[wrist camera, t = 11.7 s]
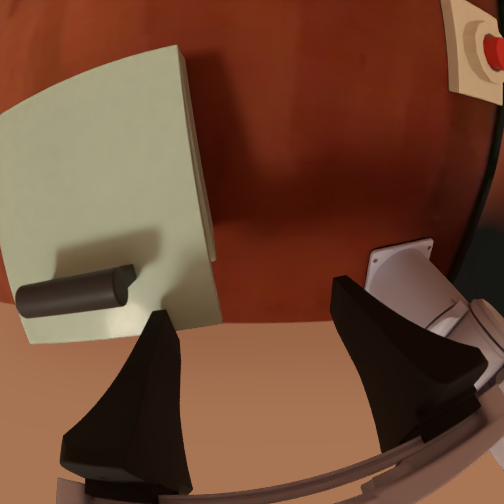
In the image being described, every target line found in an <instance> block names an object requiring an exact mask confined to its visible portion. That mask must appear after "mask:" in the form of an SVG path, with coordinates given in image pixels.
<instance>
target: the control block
mask: <svg viewBox="0 0 504 504" xmlns="http://www.w3.org/2000/svg"><path fill="white" fill-rule="evenodd" d="M440 2H441V7H442V13H443V20H444V27H445V35H446V45H447V57H448V78H449V91H451V92H456V93H460V94H464V95H468V96H471V97H475V98H479V99H482V100H485V101H489V102H492V103H495V104H498V105H501V106H502V83H503V82H504V71H503V70H498V69H494V68H492V67H491V66H490V65H489V64H488V63H487V60H486V57H485V54H484V49H483V40H484V38H485V37H486V36H491V37H500V38H502V36H501V35H500V33H499V32H498V26H497V20H496V19H495V18H494V17H492V16H491V15H489V14H487V13H486V12H484V11H483V10H481V9H479V8H478V7H476V6H474V5H472V4H471V3H469V2H467V1H465V0H440Z"/></svg>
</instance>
